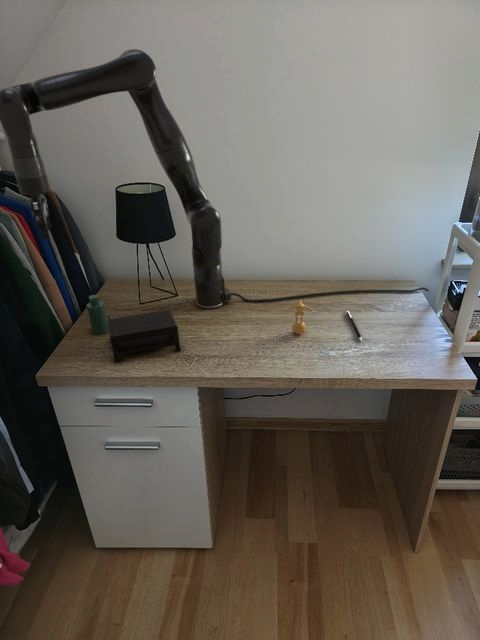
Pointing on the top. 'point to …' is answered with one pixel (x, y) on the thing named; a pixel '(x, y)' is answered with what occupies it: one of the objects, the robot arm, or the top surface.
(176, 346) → the black rectangular case
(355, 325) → the pen
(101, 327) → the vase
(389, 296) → the top surface
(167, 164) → the robot arm
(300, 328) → the figurine
